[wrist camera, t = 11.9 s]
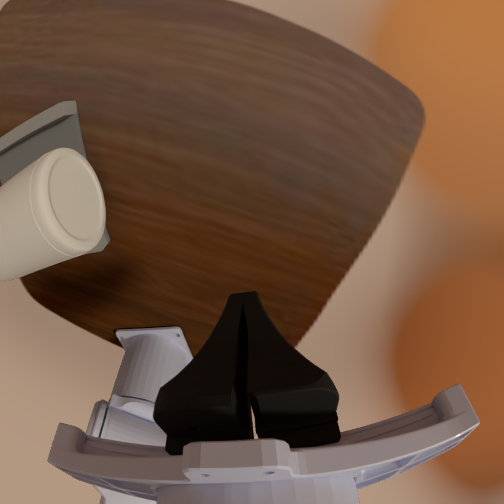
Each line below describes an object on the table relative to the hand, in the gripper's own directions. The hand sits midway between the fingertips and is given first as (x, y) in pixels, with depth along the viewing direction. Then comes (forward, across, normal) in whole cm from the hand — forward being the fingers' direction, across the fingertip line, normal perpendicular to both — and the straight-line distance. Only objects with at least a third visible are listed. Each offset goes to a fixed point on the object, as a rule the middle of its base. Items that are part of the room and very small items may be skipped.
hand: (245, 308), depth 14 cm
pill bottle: (+6, +10, -6) cm, 13 cm away
